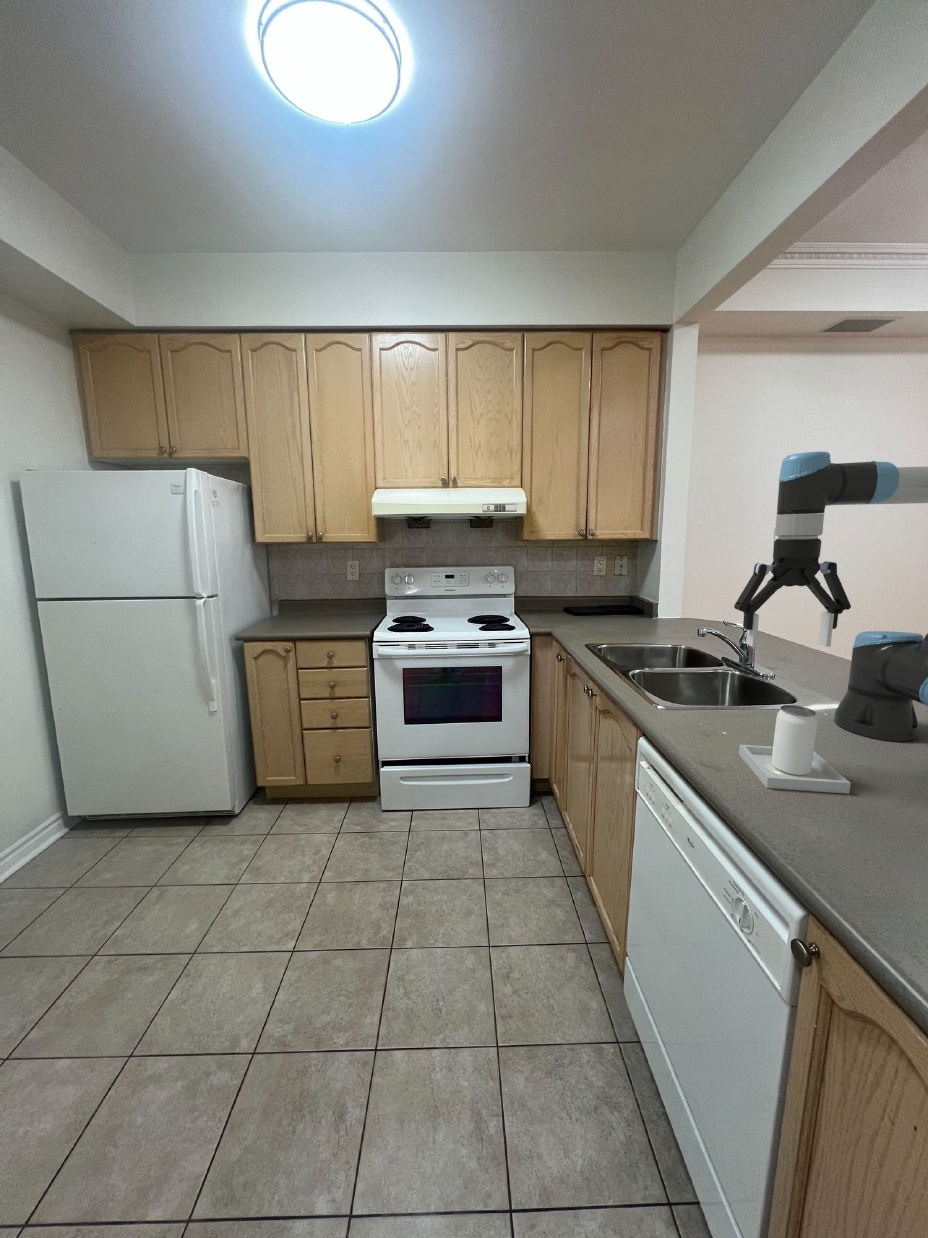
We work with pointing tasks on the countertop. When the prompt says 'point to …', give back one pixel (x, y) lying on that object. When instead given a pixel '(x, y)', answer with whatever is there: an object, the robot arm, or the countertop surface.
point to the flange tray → (816, 780)
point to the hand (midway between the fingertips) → (787, 645)
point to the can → (794, 740)
